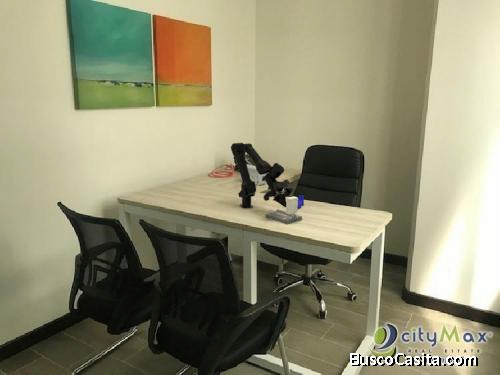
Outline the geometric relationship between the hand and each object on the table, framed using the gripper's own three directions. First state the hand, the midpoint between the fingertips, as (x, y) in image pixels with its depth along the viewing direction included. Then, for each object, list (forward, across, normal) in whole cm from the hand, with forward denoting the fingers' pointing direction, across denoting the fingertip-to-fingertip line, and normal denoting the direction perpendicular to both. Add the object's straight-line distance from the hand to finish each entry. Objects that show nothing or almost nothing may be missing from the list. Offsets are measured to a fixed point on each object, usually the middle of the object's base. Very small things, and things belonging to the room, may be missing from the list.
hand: (286, 206), depth 217 cm
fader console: (+4, 0, +6) cm, 7 cm away
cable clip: (-3, +24, +14) cm, 28 cm away
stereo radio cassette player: (-50, +47, +62) cm, 93 cm away
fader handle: (+6, 0, 0) cm, 6 cm away
